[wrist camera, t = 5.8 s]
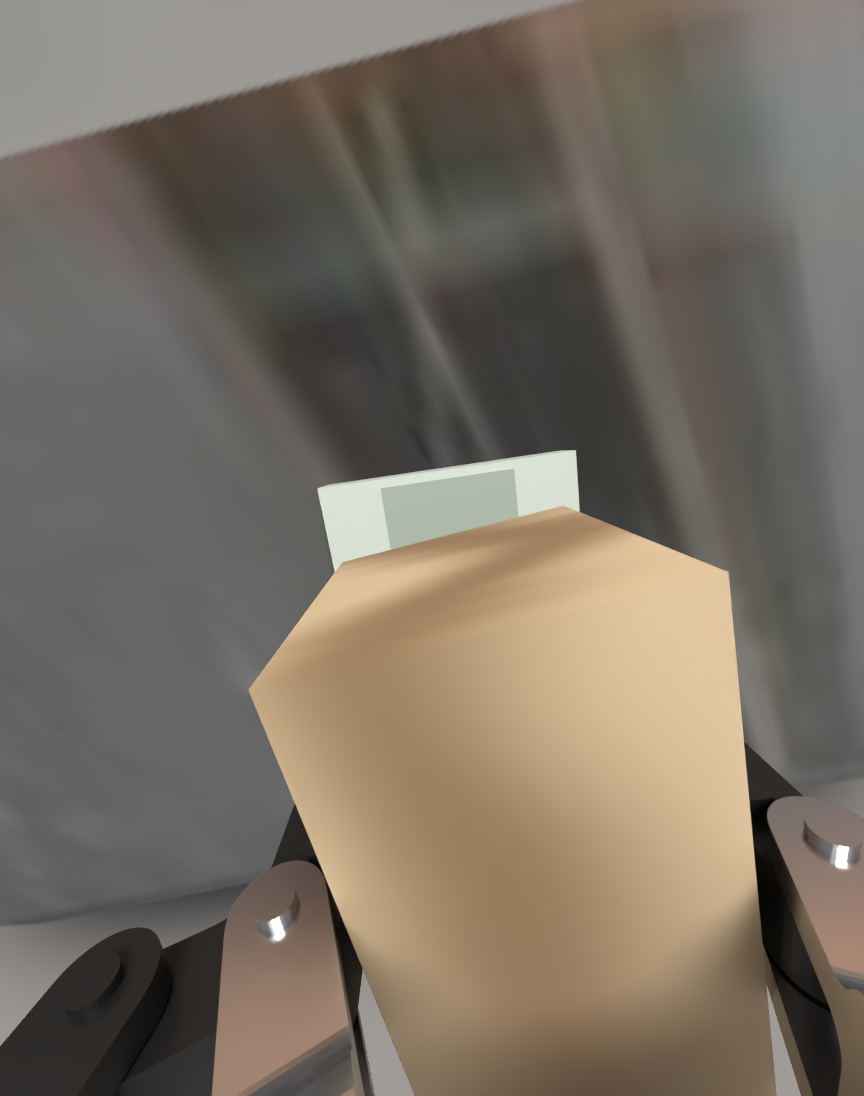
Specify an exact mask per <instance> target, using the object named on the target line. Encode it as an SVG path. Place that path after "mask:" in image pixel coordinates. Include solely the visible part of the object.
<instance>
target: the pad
mask: <svg viewBox="0 0 864 1096" xmlns="http://www.w3.org/2000/svg"><path fill="white" fill-rule="evenodd" d="M317 489H318V494H319V498H320V503H321V508H322V513H323V518H324V523H325V527H326V532H327V537H328V542H329V547H330V551H331V556H332V561H333V566H334V571H335V572H336V570H337V569H338V568H339V566H340V565H341V564H342V562H345V561H349V560H353V559H357V558H361V557H364V556H368V555H372V554H376V553H380V552H384V551H388V550H392V549H396V548H400V547H403V546H407V545H411V544H415V543H419V542H423V541H427V540H431V539H435V538H439V537H442V536H446V535H450V534H454V533H458V532H462V531H466V530H470V529H474V528H478V527H481V526H485V525H489V524H493V523H497V522H501V521H505V520H509V519H513V518H517V517H520V516H524V515H528V514H532V513H536V512H540V511H544V510H548V509H552V508H556V507H559V506H566V507H568V508H570V509H573V510H575V511H578V512H579V495H578V479H577V462H576V450H561V451H555V452H548V453H541V454H534V455H527V456H521V457H514V458H507V459H500V460H494V461H487V462H480V463H473V464H466V465H460V466H453V467H446V468H439V469H432V470H426V471H419V472H412V473H405V474H399V475H392V476H385V477H378V478H371V479H365V480H358V481H351V482H344V483H338V484H331V485H326V486H323V487H320V488H317Z"/></svg>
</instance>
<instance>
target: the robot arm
mask: <svg viewBox="0 0 864 1096" xmlns="http://www.w3.org/2000/svg"><path fill="white" fill-rule="evenodd" d="M744 748H745V759H746V770H747V781H748V792H749V802H750V813H751V824H752V835H753V846H754V857H755V868H756V879H757V889H758V900H759V911H760V922H761V933H762V944H763V955H764V965H765V976H766V983H767V986H768V990H769V993H770V996H771V1000H772V1003H773V1006H774V1009H775V1012H776V1016H777V1019H778V1022H779V1025H780V1028H781V1032H782V1035H783V1038H784V1041H785V1045H786V1048H787V1051H788V1054H789V1057H790V1061H791V1064H792V1067H793V1070H794V1074H795V1077H796V1080H797V1083H798V1087H799V1090H800V1093H801V1096H864V818H862V817H860V816H859V815H857V814H855V813H853V812H851V811H849V810H847V809H844V808H843V807H840V806H838V805H835V804H832V803H829V802H827V801H823V800H819V799H815V798H810V797H804V796H802V795H801V794H800V793H799V792H798V791H797V790H796V789H795V788H794V787H793V786H792V785H790V784H789V783H788V782H787V781H786V780H785V779H784V778H783V777H782V776H781V775H780V774H778V773H777V772H776V771H775V770H774V769H773V768H772V767H771V766H770V765H769V764H768V763H766V762H765V761H764V760H763V759H762V758H761V757H760V756H759V755H758V754H757V753H756V752H754V751H753V750H752V749H751V748H750V747H749V746H748V745H747V744H746V743H745V742H744ZM362 969H363V968H362V966H361V963H360V961H359V958H358V956H357V953H356V951H355V949H354V946H353V944H352V941H351V939H350V936H349V934H348V931H347V929H346V927H345V924H344V922H343V919H342V917H341V914H340V912H339V910H338V907H337V905H336V902H335V900H334V897H333V895H332V892H331V890H330V888H329V885H328V883H327V880H326V878H325V875H324V873H323V870H322V868H321V866H320V863H319V861H318V858H317V856H316V853H315V851H314V848H313V846H312V844H311V841H310V839H309V836H308V834H307V831H306V829H305V827H304V824H303V822H302V819H301V817H300V814H299V812H298V809H297V807H296V805H294V808H293V810H292V813H291V816H290V818H289V821H288V824H287V827H286V829H285V832H284V835H283V838H282V840H281V843H280V846H279V848H278V851H277V854H276V857H275V859H274V862H273V865H272V867H271V868H270V869H268V870H267V871H265V872H264V873H262V874H261V875H259V876H258V877H257V878H256V879H255V880H254V881H252V882H251V883H250V884H249V886H248V887H247V888H246V889H245V890H244V891H243V892H242V894H241V895H240V896H239V898H238V899H237V901H236V903H235V904H234V906H233V908H232V910H231V912H230V914H229V916H228V918H227V919H225V920H224V921H222V922H220V923H218V924H216V925H214V926H212V927H210V928H208V929H206V930H204V931H202V932H200V933H197V934H195V935H193V936H191V937H189V938H187V939H184V940H182V941H180V942H178V943H176V944H173V945H171V946H169V947H167V948H165V949H163V948H162V946H161V943H160V940H159V938H158V937H157V935H156V934H155V933H154V932H153V931H152V930H150V929H147V928H131V929H127V930H124V931H121V932H118V933H116V934H114V935H112V936H109V937H108V938H106V939H104V940H102V941H101V942H99V943H98V944H96V945H95V946H93V947H92V948H90V949H89V950H88V951H86V952H85V953H84V954H83V955H81V956H80V957H79V958H78V959H77V960H76V961H74V962H73V963H72V964H71V965H70V966H69V967H68V968H67V969H66V970H65V971H64V972H63V973H62V975H61V976H60V977H59V978H58V979H57V980H56V981H55V982H54V983H53V985H52V986H51V987H50V988H49V989H48V990H47V992H46V993H45V994H44V995H43V996H42V998H41V999H40V1000H39V1001H38V1002H37V1004H36V1005H35V1006H34V1007H33V1008H32V1010H31V1011H30V1012H29V1013H28V1014H27V1016H26V1017H25V1018H24V1019H23V1020H22V1021H21V1023H20V1024H19V1025H18V1026H17V1027H16V1029H15V1030H14V1031H13V1032H12V1033H11V1034H10V1036H9V1037H8V1038H7V1039H6V1041H4V1043H3V1044H2V1045H1V1046H0V1096H375V1094H374V1088H373V1083H372V1078H371V1072H370V1067H369V1062H368V1056H367V1051H366V1046H365V1040H364V1035H363V1030H362V1024H361V1019H360V1014H359V1010H358V1003H359V993H360V986H361V978H362Z"/></svg>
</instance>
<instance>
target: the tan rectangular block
mask: <svg viewBox="0 0 864 1096" xmlns="http://www.w3.org/2000/svg"><path fill="white" fill-rule="evenodd" d="M249 692H250V695H251V697H252V700H253V702H254V704H255V707H256V709H257V712H258V714H259V717H260V719H261V722H262V724H263V726H264V729H265V731H266V734H267V736H268V739H269V741H270V744H271V746H272V748H273V751H274V753H275V756H276V758H277V761H278V763H279V765H280V768H281V770H282V773H283V775H284V778H285V780H286V783H287V785H288V787H289V790H290V792H291V795H292V797H293V800H294V802H295V805H296V807H297V809H298V812H299V814H300V817H301V819H302V822H303V824H304V827H305V829H306V831H307V834H308V836H309V839H310V841H311V844H312V846H313V848H314V851H315V853H316V856H317V858H318V861H319V863H320V866H321V868H322V870H323V873H324V875H325V878H326V880H327V883H328V885H329V888H330V890H331V892H332V895H333V897H334V900H335V902H336V905H337V907H338V910H339V912H340V914H341V917H342V919H343V922H344V924H345V927H346V929H347V931H348V934H349V936H350V939H351V941H352V944H353V946H354V949H355V951H356V953H357V956H358V958H359V961H360V963H361V966H362V968H363V970H364V973H365V975H366V978H367V980H368V983H369V985H370V988H371V990H372V993H373V995H374V997H375V1000H376V1002H377V1005H378V1007H379V1009H380V1012H381V1014H382V1017H383V1019H384V1022H385V1024H386V1027H387V1029H388V1032H389V1034H390V1036H391V1039H392V1041H393V1044H394V1046H395V1049H396V1051H397V1053H398V1056H399V1058H400V1061H401V1063H402V1066H403V1068H404V1071H405V1073H406V1075H407V1078H408V1080H409V1083H410V1085H411V1088H412V1090H413V1092H414V1095H415V1096H776V1085H775V1075H774V1063H773V1053H772V1042H771V1031H770V1020H769V1009H768V998H767V987H766V976H765V965H764V955H763V944H762V933H761V922H760V911H759V900H758V889H757V879H756V868H755V857H754V846H753V835H752V824H751V813H750V802H749V792H748V781H747V770H746V759H745V748H744V737H743V726H742V715H741V705H740V694H739V683H738V672H737V661H736V650H735V639H734V628H733V618H732V607H731V596H730V585H729V574H728V572H726V571H724V570H721V569H719V568H717V567H714V566H712V565H709V564H707V563H704V562H702V561H699V560H697V559H694V558H692V557H689V556H687V555H684V554H682V553H679V552H677V551H674V550H672V549H669V548H667V547H665V546H662V545H660V544H657V543H655V542H652V541H650V540H647V539H645V538H642V537H640V536H637V535H635V534H632V533H630V532H627V531H625V530H622V529H620V528H618V527H615V526H613V525H610V524H608V523H605V522H603V521H600V520H598V519H595V518H593V517H590V516H588V515H585V514H583V513H580V512H578V511H575V510H573V509H570V508H568V507H566V506H559V507H556V508H552V509H548V510H544V511H540V512H536V513H532V514H528V515H524V516H520V517H517V518H513V519H509V520H505V521H501V522H497V523H493V524H489V525H485V526H481V527H478V528H474V529H470V530H466V531H462V532H458V533H454V534H450V535H446V536H442V537H439V538H435V539H431V540H427V541H423V542H419V543H415V544H411V545H407V546H403V547H400V548H396V549H392V550H388V551H384V552H380V553H376V554H372V555H368V556H364V557H361V558H357V559H353V560H349V561H345V562H342V564H341V565H340V566H339V568H338V569H337V570H336V572H335V573H334V574H333V576H332V577H331V578H330V580H329V581H328V583H327V584H326V585H325V587H324V588H323V589H322V591H321V592H320V593H319V595H318V596H317V597H316V599H315V600H314V602H313V603H312V604H311V606H310V607H309V608H308V610H307V611H306V612H305V614H304V615H303V617H302V618H301V619H300V621H299V622H298V623H297V625H296V626H295V627H294V629H293V630H292V631H291V633H290V634H289V636H288V637H287V638H286V640H285V641H284V642H283V644H282V645H281V646H280V648H279V649H278V650H277V652H276V653H275V655H274V656H273V657H272V659H271V660H270V661H269V663H268V664H267V665H266V667H265V668H264V669H263V671H262V672H261V674H260V675H259V676H258V678H257V679H256V680H255V682H254V683H253V684H252V686H251V687H250V688H249Z"/></svg>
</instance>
